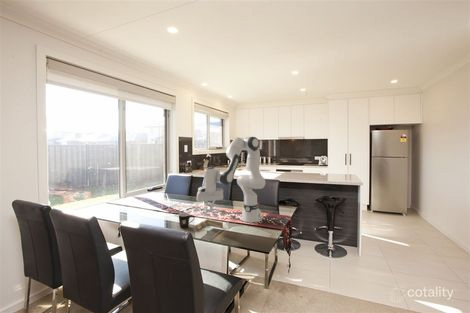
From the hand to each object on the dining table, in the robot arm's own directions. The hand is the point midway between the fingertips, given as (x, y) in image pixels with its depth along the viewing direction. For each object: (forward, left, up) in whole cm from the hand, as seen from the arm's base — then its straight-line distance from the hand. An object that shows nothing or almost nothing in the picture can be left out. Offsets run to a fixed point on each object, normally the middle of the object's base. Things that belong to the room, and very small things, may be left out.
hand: (210, 206), depth 178 cm
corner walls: (-2, -3, -19) cm, 19 cm away
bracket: (+1, -1, -3) cm, 3 cm away
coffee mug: (+3, -21, -19) cm, 29 cm away
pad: (-2, -4, -19) cm, 19 cm away
